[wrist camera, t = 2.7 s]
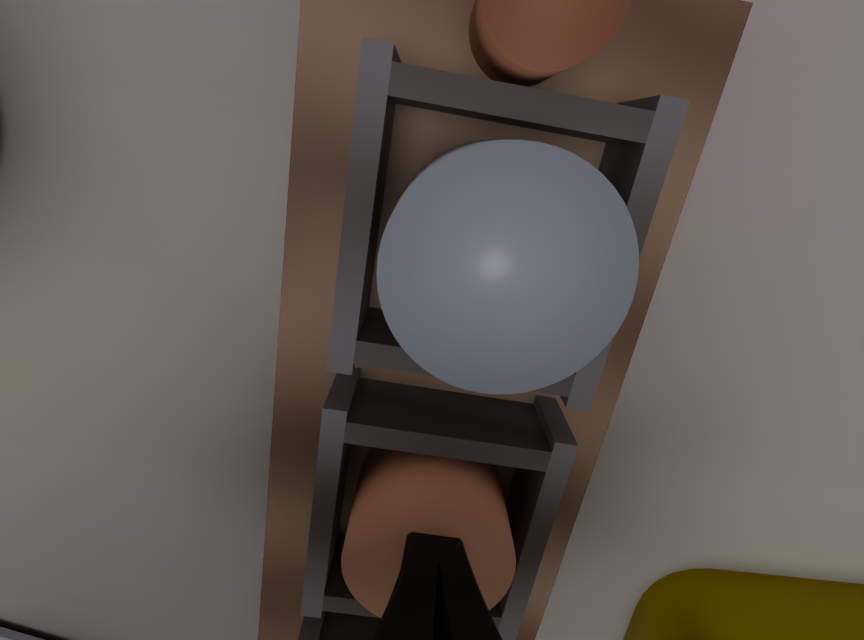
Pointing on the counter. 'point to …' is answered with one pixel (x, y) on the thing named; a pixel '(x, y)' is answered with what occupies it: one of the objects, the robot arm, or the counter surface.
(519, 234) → the slate button
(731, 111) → the counter surface
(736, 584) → the element tile
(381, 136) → the panel
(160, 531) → the counter surface
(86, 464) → the counter surface
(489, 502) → the terracotta button
